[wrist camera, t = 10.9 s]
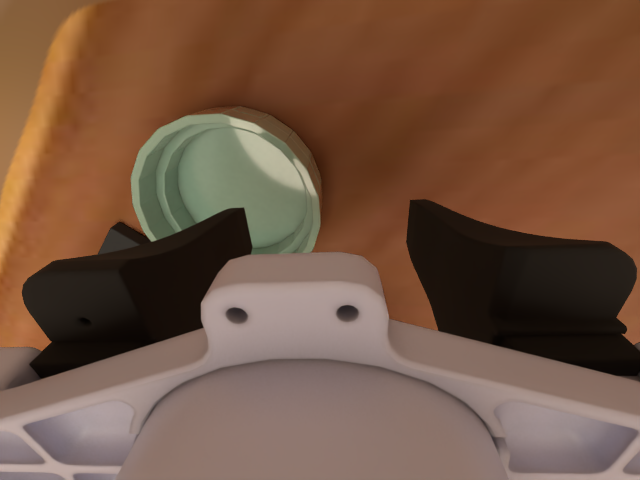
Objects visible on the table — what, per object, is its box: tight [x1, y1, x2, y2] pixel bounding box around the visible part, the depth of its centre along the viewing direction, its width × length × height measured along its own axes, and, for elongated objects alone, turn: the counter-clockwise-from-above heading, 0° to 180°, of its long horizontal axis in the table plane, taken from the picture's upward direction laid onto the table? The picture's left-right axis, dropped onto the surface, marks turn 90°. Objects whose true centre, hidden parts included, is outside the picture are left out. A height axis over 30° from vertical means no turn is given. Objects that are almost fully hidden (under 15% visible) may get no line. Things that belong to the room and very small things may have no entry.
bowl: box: [131, 106, 323, 255], centre depth 21 cm, size 12×12×4 cm
